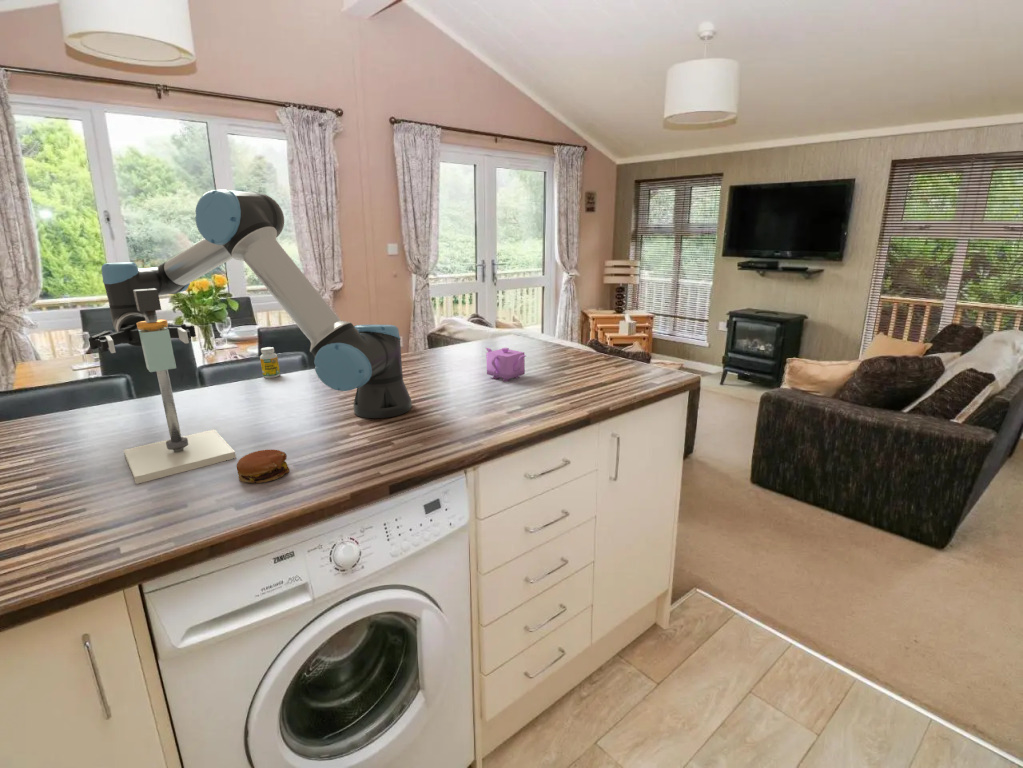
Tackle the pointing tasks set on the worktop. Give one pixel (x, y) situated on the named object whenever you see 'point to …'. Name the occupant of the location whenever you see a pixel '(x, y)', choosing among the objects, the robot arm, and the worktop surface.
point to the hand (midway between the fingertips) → (150, 341)
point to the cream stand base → (177, 456)
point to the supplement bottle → (269, 363)
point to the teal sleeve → (157, 349)
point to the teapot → (505, 363)
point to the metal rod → (149, 304)
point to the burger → (262, 466)
